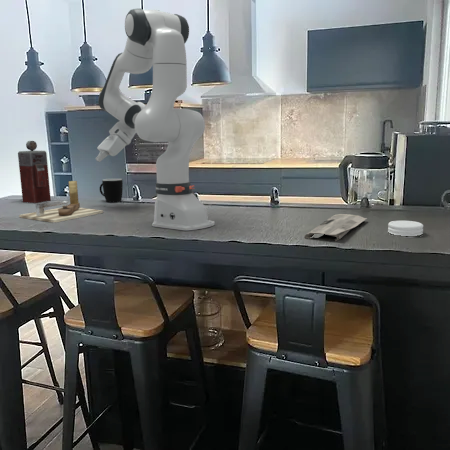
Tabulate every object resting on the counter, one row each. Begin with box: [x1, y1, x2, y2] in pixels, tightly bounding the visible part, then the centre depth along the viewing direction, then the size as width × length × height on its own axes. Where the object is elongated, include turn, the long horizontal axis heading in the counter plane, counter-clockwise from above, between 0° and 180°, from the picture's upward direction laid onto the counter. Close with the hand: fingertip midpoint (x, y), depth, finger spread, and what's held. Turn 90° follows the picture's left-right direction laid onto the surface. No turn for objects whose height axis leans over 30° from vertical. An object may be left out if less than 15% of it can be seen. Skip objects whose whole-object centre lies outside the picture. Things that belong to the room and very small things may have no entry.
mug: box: [99, 178, 124, 204], centre depth 218 cm, size 12×9×10 cm
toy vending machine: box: [17, 140, 52, 204], centre depth 219 cm, size 9×11×28 cm
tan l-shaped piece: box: [58, 180, 81, 215], centre depth 184 cm, size 16×5×11 cm, turn 1°
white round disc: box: [387, 220, 424, 236], centre depth 144 cm, size 10×10×4 cm
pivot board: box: [18, 206, 104, 223], centre depth 185 cm, size 21×23×1 cm
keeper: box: [34, 200, 70, 216], centre depth 179 cm, size 10×10×5 cm
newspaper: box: [304, 213, 368, 242], centre depth 151 cm, size 35×12×4 cm, turn 154°
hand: (97, 160), depth 193 cm, fingers closed
